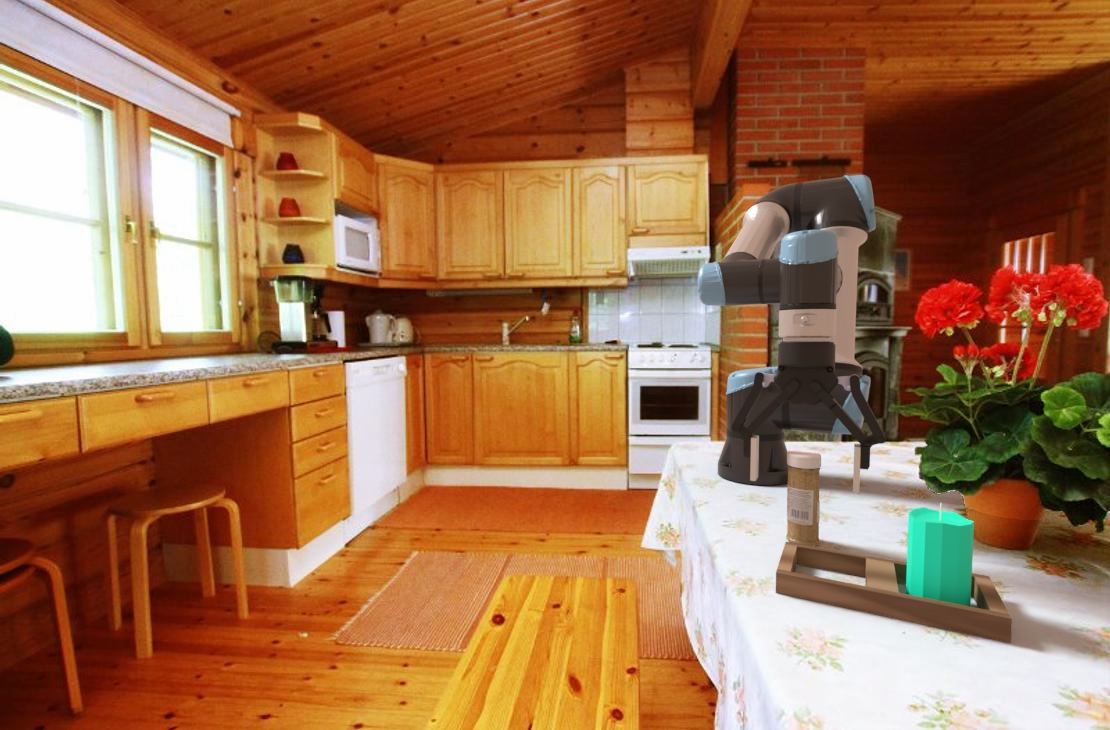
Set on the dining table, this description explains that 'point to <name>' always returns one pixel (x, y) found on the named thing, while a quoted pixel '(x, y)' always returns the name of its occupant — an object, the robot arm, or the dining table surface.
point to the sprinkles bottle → (803, 497)
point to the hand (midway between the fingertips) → (803, 485)
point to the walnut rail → (889, 592)
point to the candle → (939, 555)
